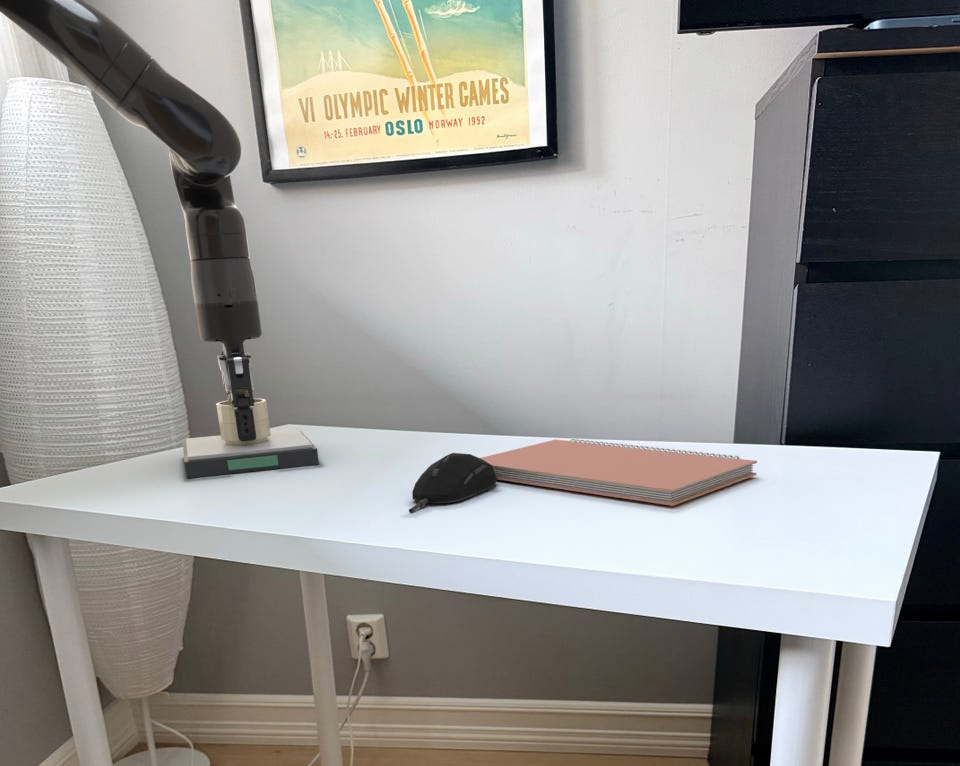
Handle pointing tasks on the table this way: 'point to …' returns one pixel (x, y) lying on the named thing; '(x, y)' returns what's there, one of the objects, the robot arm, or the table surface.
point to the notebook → (620, 470)
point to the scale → (248, 454)
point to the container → (230, 428)
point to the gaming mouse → (453, 480)
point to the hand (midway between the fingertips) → (245, 436)
